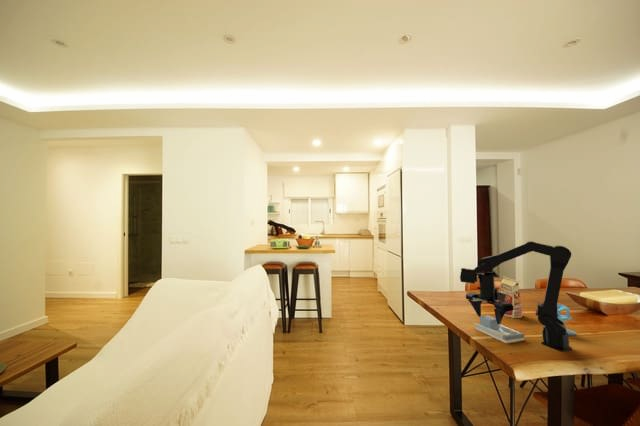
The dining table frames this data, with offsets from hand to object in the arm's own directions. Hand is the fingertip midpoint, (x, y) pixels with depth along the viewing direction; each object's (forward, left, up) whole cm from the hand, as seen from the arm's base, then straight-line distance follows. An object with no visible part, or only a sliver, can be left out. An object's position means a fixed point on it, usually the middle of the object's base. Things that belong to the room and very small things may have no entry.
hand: (488, 320), depth 106 cm
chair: (-9, -29, -5) cm, 30 cm away
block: (0, 0, -3) cm, 3 cm away
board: (-4, 0, -4) cm, 6 cm away
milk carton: (+12, -30, -5) cm, 32 cm away
